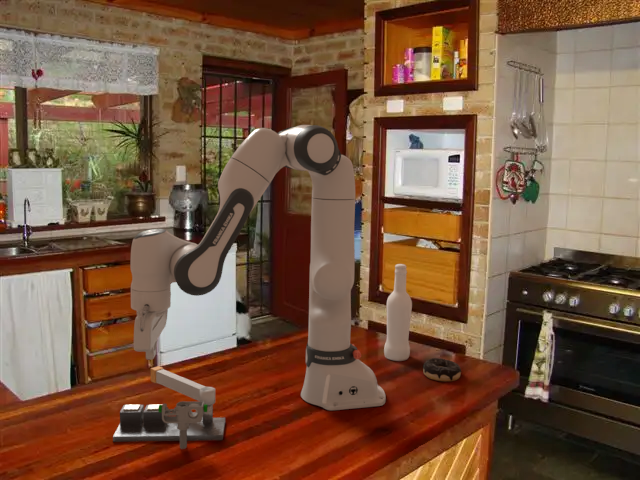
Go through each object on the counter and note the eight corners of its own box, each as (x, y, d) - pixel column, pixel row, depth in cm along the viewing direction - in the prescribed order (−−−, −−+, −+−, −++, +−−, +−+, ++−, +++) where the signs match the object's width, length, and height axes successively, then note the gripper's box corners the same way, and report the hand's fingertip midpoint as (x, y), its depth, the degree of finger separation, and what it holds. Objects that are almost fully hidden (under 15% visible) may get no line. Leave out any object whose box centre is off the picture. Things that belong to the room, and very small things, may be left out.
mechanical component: (160, 444, 137) (160, 401, 135) (207, 443, 138) (207, 400, 136) (158, 451, 134) (157, 407, 132) (206, 450, 135) (206, 406, 133)
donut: (423, 381, 178) (424, 368, 177) (421, 367, 190) (422, 354, 189) (462, 384, 177) (463, 370, 176) (458, 369, 189) (459, 356, 188)
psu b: (143, 418, 146) (143, 403, 146) (140, 426, 143) (140, 410, 142) (124, 418, 146) (123, 403, 145) (120, 426, 142) (119, 410, 142)
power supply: (166, 418, 147) (166, 403, 146) (164, 425, 143) (163, 410, 142) (147, 418, 147) (146, 403, 146) (143, 426, 143) (143, 410, 142)
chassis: (225, 422, 148) (225, 400, 147) (222, 440, 139) (222, 416, 139) (122, 423, 146) (121, 400, 145) (113, 441, 137) (112, 417, 137)
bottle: (408, 362, 192) (413, 267, 188) (382, 360, 194) (386, 266, 189) (410, 354, 200) (415, 263, 196) (385, 352, 202) (389, 261, 197)
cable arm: (218, 402, 145) (218, 388, 145) (206, 407, 143) (206, 393, 142) (160, 378, 159) (160, 365, 159) (148, 381, 157) (148, 369, 156)
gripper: (156, 312, 133) (156, 374, 135) (172, 289, 153) (171, 343, 155) (125, 311, 132) (126, 373, 134) (145, 289, 152) (146, 343, 155)
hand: (151, 357), depth 145 cm, fingers closed
